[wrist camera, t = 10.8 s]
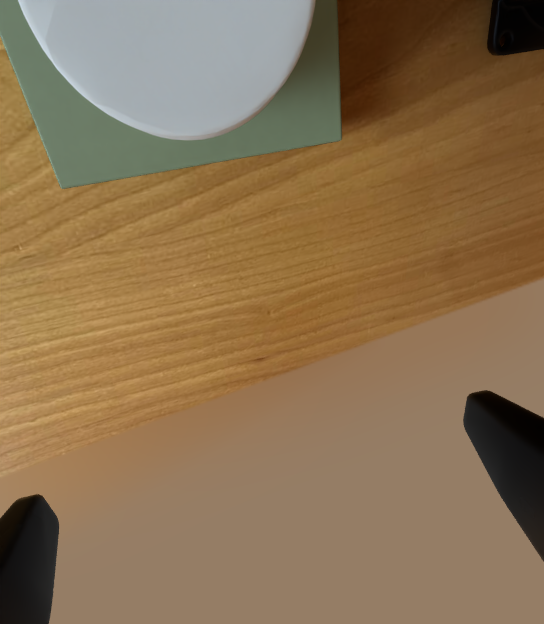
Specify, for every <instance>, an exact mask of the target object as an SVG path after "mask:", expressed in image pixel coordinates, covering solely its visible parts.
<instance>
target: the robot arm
mask: <svg viewBox="0 0 544 624" xmlns="http://www.w3.org/2000/svg"><path fill="white" fill-rule="evenodd" d="M503 34H504V35H505V42H504V44H503V46H502V47H501V46H500V39H501V36H502V35H503ZM487 44H488V50H489V52H490V53H491V54H492V55H509V54H515V53H521V52H527V51H534V50H540V49H544V0H493V2H492V10H491V18H490V26H489V34H488V42H487ZM463 421H464V427H465V430H466V432H467V434H468V436H469V438H470V440H471V442H472V443H473V445H474V447H475V449H476V451H477V453H478V455H479V457H480V459H481V460H482V463H483V464H484V466H485V468H486V470H487V472H488V474H489V476H490V478H491V480H492V482H493V483H494V485H495V487H496V489H497V491H498V492H499V494H500V496H501V498H502V499H503V501H504V502H505V504H506V505H507V507H508V509H509V510H510V511H511V513H512V514H513V516H514V517H515V519H516V521H517V522H518V524H519V525H520V527H521V528H522V530H523V531H524V533H525V534H526V536H527V537H528V538H529V540H530V542H531V543H532V545H533V546H534V548H535V549H536V551H537V552H538V554H539V555H540V557H541V558H542V560H543V561H544V418H543V417H541V416H539V415H537V414H535V413H533V412H531V411H529V410H526V409H525V408H523V407H521V406H519V405H517V404H515V403H513V402H511V401H509V400H507V399H505V398H503V397H501V396H499V395H497V394H495V393H493V392H491V391H487V390H485V391H479V392H475V393H471V394H469V396H468V397H467V401H466V407H465V413H464V419H463ZM58 534H59V522H58V518H57V516H56V515H55V513H54V512H53V510H52V509H51V508H50V506H49V505H48V503H47V502H46V500H45V499H44V497H43V496H41V495H39V494H38V495H37V494H36V495H32V496H28V497H23V498H20V499H18V500H16V501H15V502H14V503H13V504H12V505H11V506H10V508H9V509H8V510H7V511H6V512H5V513H4V515H3V516H2V517H1V518H0V624H49V619H50V613H51V606H52V597H53V588H54V577H55V566H56V556H57V545H58Z"/></svg>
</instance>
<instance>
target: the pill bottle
mask: <svg viewBox="0 0 544 624" xmlns="http://www.w3.org/2000/svg"><path fill="white" fill-rule="evenodd" d="M315 1H316V0H18V2H19V4H20V7H21V9H22V12H23V14H24V16H25V18H26V20H27V22H28V24H29V26H30V28H31V30H32V32H33V33H34V35H35V37H36V39H37V40H38V42H39V44H40V46H41V47H42V49H43V51H44V52H45V53H46V55H47V56H48V58H49V59H50V60H51V61H52V63H53V64H54V66H55V67H56V68H57V70H58V71H59V72H60V73H61V74H62V75H63V77H64V78H65V79H66V80H67V81H68V82H69V83H70V84H71V85H72V86H73V87H74V88H75V89H76V90H77V91H78V92H79V93H80V94H81V95H82V96H83V97H85V98H86V99H87V100H89V101H90V102H91V103H92V104H94V105H95V106H96V107H98V108H99V109H100V110H102V111H103V112H105V113H106V114H108V115H110V116H111V117H113V118H115V119H117V120H119V121H121V122H123V123H125V124H127V125H129V126H131V127H134V128H136V129H138V130H141V131H143V132H146V133H149V134H151V135H155V136H158V137H162V138H167V139H173V140H203V139H208V138H213V137H216V136H220V135H223V134H225V133H228V132H230V131H233V130H234V129H236V128H238V127H240V126H242V125H243V124H245V123H247V122H248V121H250V120H251V119H252V118H253V117H255V116H256V115H257V114H258V113H260V112H261V111H262V110H263V109H264V107H265V106H266V105H267V104H268V103H269V102H270V101H271V100H272V99H273V97H274V96H275V95H276V93H277V92H278V91H279V90H280V89H281V87H282V86H283V85H284V83H285V82H286V81H287V79H288V77H289V76H290V74H291V72H292V71H293V69H294V67H295V66H296V64H297V62H298V59H299V57H300V55H301V53H302V50H303V48H304V45H305V42H306V39H307V37H308V34H309V30H310V27H311V23H312V18H313V13H314V8H315Z"/></svg>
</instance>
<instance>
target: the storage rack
mask: <svg viewBox="0 0 544 624" xmlns="http://www.w3.org/2000/svg"><path fill="white" fill-rule="evenodd" d="M0 37H1V39H2V42H3V44H4V47H5V49H6V52H7V54H8V57H9V59H10V62H11V64H12V67H13V69H14V72H15V74H16V77H17V79H18V82H19V84H20V87H21V89H22V92H23V94H24V97H25V100H26V102H27V105H28V107H29V110H30V112H31V115H32V117H33V120H34V122H35V125H36V127H37V130H38V132H39V135H40V137H41V140H42V142H43V145H44V147H45V150H46V152H47V155H48V157H49V160H50V163H51V165H52V168H53V170H54V173H55V175H56V178H57V180H58V183H59V185H60V187H61V188H62V189H66V188H72V187H78V186H83V185H89V184H95V183H101V182H107V181H112V180H118V179H124V178H130V177H135V176H141V175H147V174H153V173H159V172H164V171H170V170H176V169H182V168H187V167H193V166H199V165H205V164H211V163H216V162H222V161H228V160H234V159H239V158H245V157H251V156H257V155H263V154H268V153H274V152H280V151H286V150H291V149H297V148H303V147H309V146H315V145H320V144H326V143H332V142H338V141H341V140H342V123H341V95H340V67H339V39H338V11H337V0H316V1H315V8H314V13H313V18H312V23H311V27H310V30H309V34H308V37H307V39H306V42H305V45H304V48H303V50H302V53H301V55H300V57H299V59H298V62H297V64H296V66H295V67H294V69H293V71H292V72H291V74H290V76H289V77H288V79H287V81H286V82H285V83H284V85H283V86H282V87H281V89H280V90H279V91H278V92H277V93H276V95H275V96H274V97H273V99H272V100H271V101H270V102H269V103H268V104H267V105H266V106H265V107H264V109H263V110H262V111H261V112H260V113H258V114H257V115H256V116H255V117H253V118H252V119H251V120H250V121H248V122H247V123H245V124H243V125H242V126H240V127H238V128H236V129H234V130H233V131H230V132H228V133H225V134H223V135H220V136H216V137H213V138H208V139H203V140H173V139H167V138H162V137H158V136H155V135H151V134H149V133H146V132H143V131H141V130H138V129H136V128H134V127H131V126H129V125H127V124H125V123H123V122H121V121H119V120H117V119H115V118H113V117H111V116H110V115H108V114H106V113H105V112H103V111H102V110H100V109H99V108H98V107H96V106H95V105H94V104H92V103H91V102H90V101H89V100H87V99H86V98H85V97H83V96H82V95H81V94H80V93H79V92H78V91H77V90H76V89H75V88H74V87H73V86H72V85H71V84H70V83H69V82H68V81H67V80H66V79H65V78H64V77H63V75H62V74H61V73H60V72H59V71H58V70H57V68H56V67H55V66H54V64H53V63H52V61H51V60H50V59H49V58H48V56H47V55H46V53H45V52H44V51H43V49H42V47H41V46H40V44H39V42H38V40H37V39H36V37H35V35H34V33H33V32H32V30H31V28H30V26H29V24H28V22H27V20H26V18H25V16H24V14H23V12H22V9H21V7H20V4H19V2H18V0H0Z"/></svg>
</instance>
